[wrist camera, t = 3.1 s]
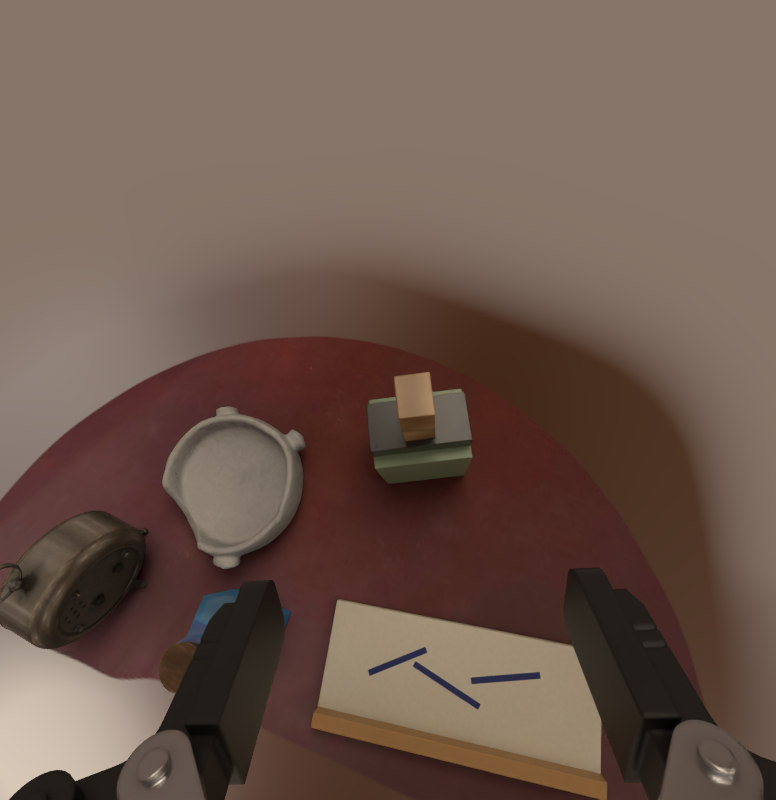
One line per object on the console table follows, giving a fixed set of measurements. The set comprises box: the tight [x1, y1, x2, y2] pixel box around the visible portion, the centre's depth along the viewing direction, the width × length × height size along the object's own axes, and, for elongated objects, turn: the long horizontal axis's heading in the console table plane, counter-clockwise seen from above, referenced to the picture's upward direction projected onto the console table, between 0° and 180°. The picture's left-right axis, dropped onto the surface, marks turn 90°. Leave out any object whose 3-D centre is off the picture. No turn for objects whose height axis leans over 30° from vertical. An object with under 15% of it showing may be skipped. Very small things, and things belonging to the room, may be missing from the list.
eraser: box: [366, 372, 472, 457], centre depth 32 cm, size 8×4×8 cm, turn 96°
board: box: [311, 599, 607, 800], centre depth 37 cm, size 24×10×2 cm, turn 81°
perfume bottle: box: [159, 589, 291, 693], centre depth 36 cm, size 6×6×12 cm
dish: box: [162, 407, 306, 569], centre depth 44 cm, size 14×14×5 cm
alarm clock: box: [0, 511, 148, 649], centre depth 37 cm, size 11×5×16 cm, turn 155°
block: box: [369, 389, 472, 484], centre depth 41 cm, size 8×6×10 cm
